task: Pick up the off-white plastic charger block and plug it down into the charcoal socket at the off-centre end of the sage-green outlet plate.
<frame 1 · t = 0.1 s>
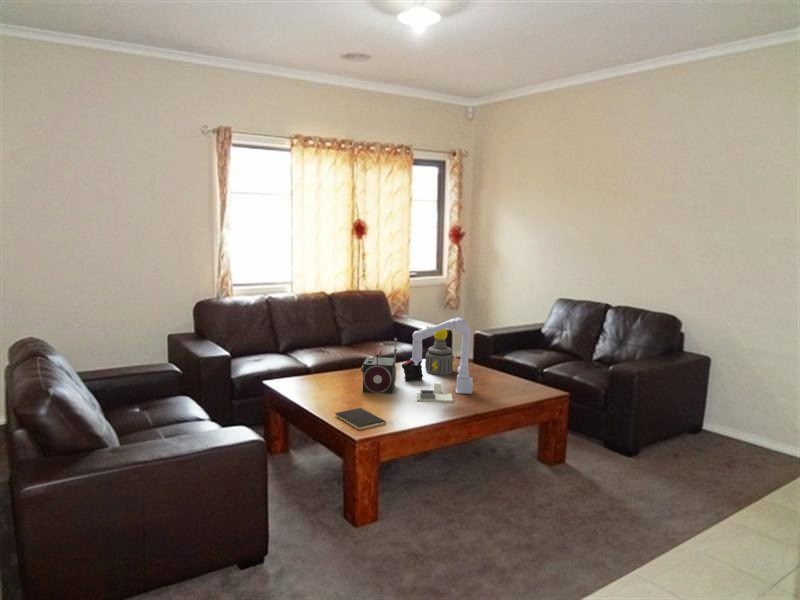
hand: (416, 374, 349), 10 cm above the table, tool pointing down, fingers open, 7 cm apart
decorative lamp: (439, 371, 393), on the table
boombox: (379, 389, 352), on the table
outlet plate: (434, 398, 337), on the table
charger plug: (437, 392, 348), on the table
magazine: (411, 381, 371), on the table
hardcover book: (360, 421, 300), on the table
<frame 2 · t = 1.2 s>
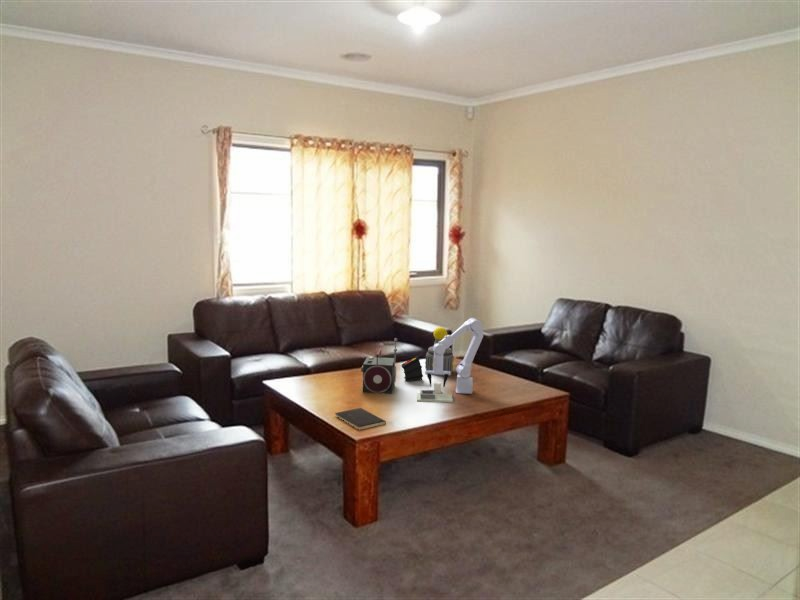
hand: (437, 386, 347), 4 cm above the table, tool pointing down, fingers open, 7 cm apart
nothing on the table moved.
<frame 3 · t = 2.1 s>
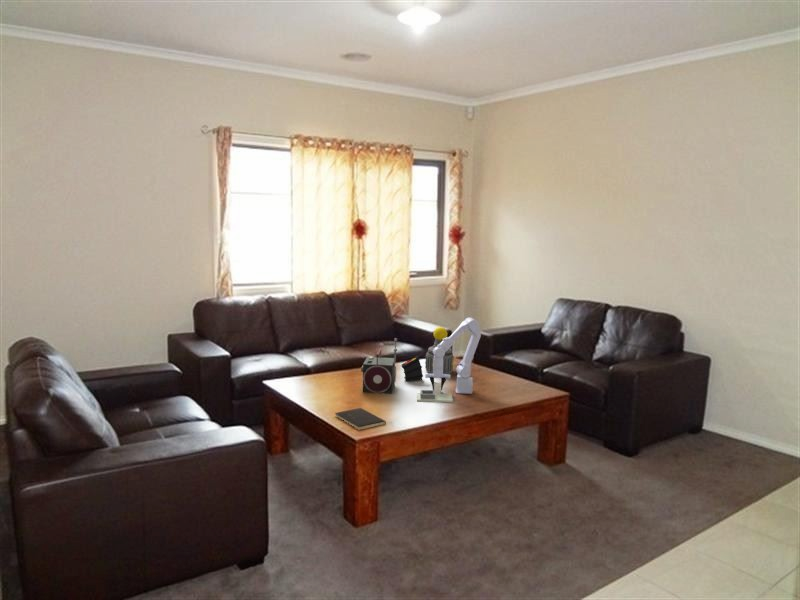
hand: (437, 389, 348), 2 cm above the table, tool pointing down, fingers closed on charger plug, 4 cm apart
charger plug: (437, 392, 348), on the table, touching gripper
everything else where it was.
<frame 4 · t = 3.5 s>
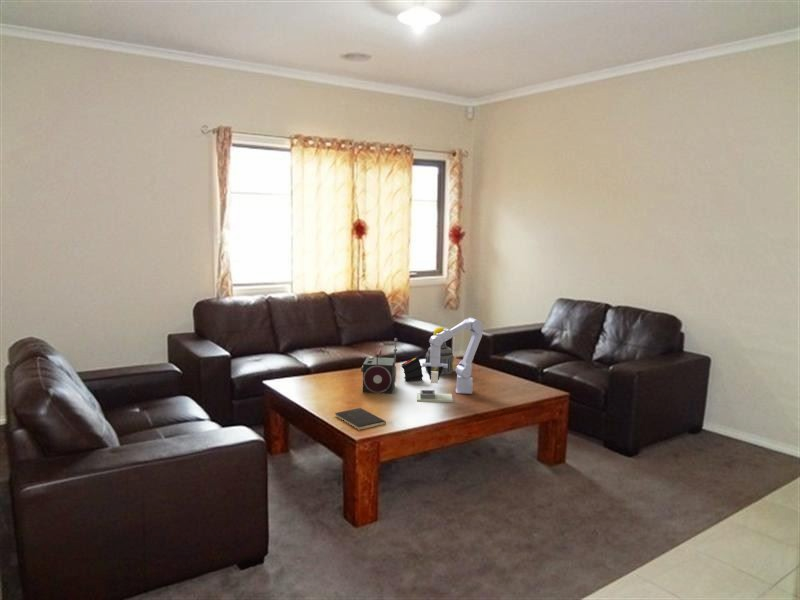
hand: (434, 379, 343), 9 cm above the table, tool pointing down, fingers closed on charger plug, 4 cm apart
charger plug: (434, 382, 343), point 7 cm above the table, touching gripper
everything else where it was.
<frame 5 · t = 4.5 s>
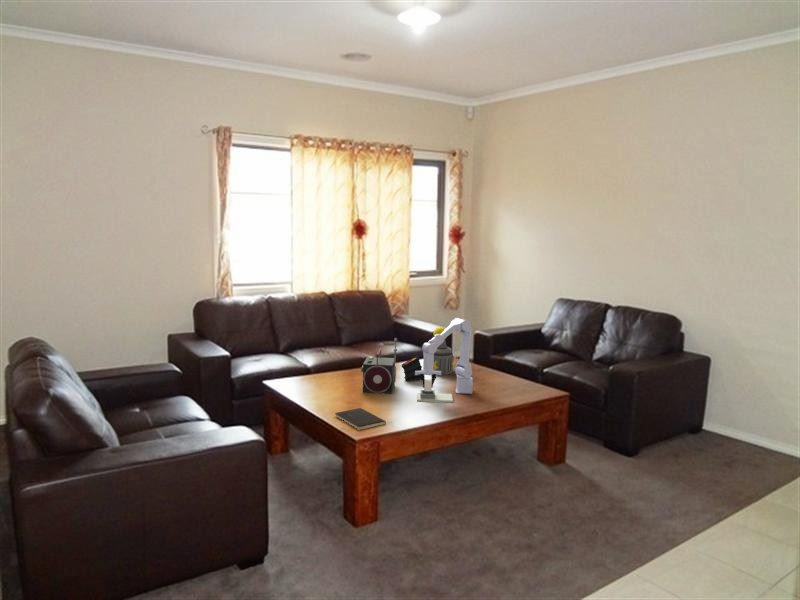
hand: (427, 387, 336), 6 cm above the table, tool pointing down, fingers closed on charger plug, 4 cm apart
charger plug: (427, 390, 336), point 5 cm above the table, touching gripper
everything else where it was.
when the fingers open (4 cm above the table, at t = 5.3 s): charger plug drops 1 cm, resting on outlet plate.
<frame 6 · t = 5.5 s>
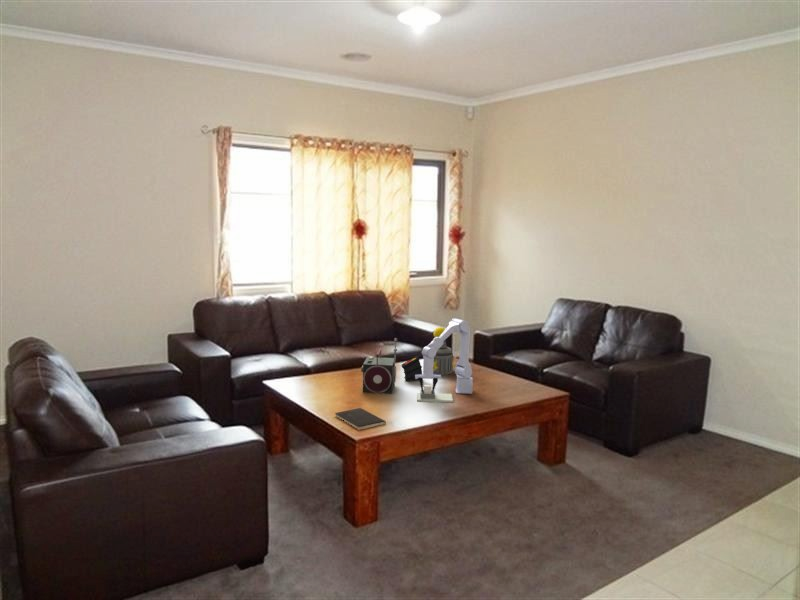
hand: (427, 391, 336), 4 cm above the table, tool pointing down, fingers open, 6 cm apart
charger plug: (427, 396, 337), point 1 cm above the table, touching outlet plate
everything else where it was.
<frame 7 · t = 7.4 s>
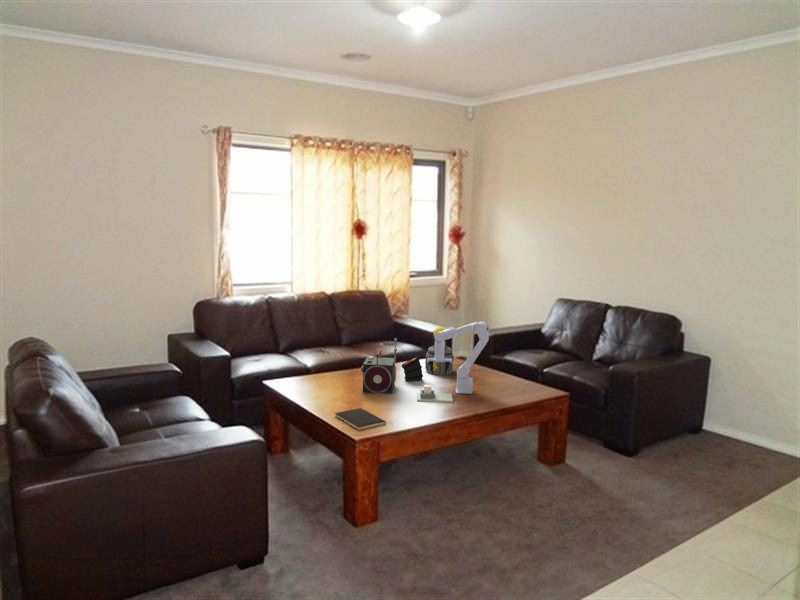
hand: (438, 373, 353), 9 cm above the table, tool pointing down, fingers open, 7 cm apart
nothing on the table moved.
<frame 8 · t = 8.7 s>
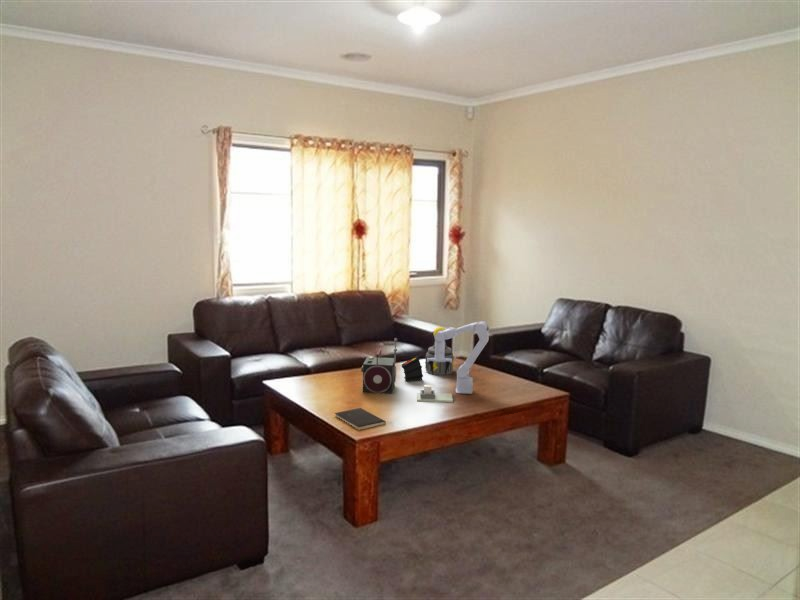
hand: (439, 373, 353), 9 cm above the table, tool pointing down, fingers open, 7 cm apart
nothing on the table moved.
at the end: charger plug 0.2 cm from the target spot on the outlet plate, point 1.2 cm above the outlet plate's base; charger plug tilted 0°; the gripper is holding nothing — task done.
